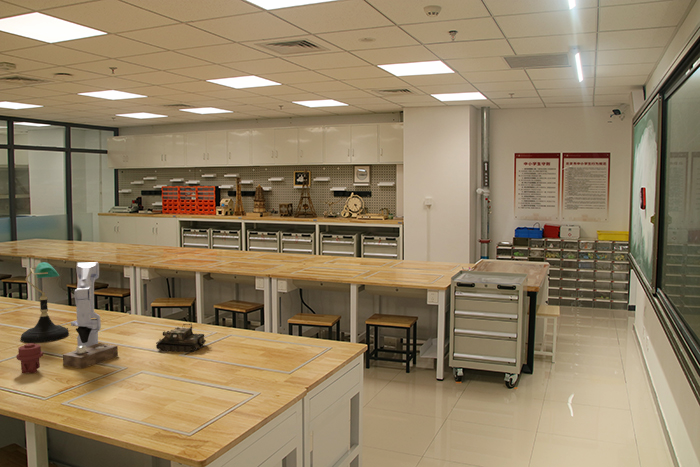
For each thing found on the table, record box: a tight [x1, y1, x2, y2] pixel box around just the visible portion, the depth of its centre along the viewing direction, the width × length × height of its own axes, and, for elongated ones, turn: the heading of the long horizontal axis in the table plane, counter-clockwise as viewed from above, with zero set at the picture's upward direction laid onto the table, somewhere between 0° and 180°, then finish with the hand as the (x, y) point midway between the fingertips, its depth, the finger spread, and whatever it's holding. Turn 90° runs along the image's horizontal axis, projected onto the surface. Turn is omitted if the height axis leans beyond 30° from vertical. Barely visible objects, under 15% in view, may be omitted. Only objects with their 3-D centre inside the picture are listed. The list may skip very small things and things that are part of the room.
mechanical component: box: [15, 343, 44, 375], centre depth 229 cm, size 12×10×10 cm
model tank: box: [155, 322, 207, 353], centre depth 265 cm, size 13×22×15 cm, turn 85°
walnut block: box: [62, 342, 119, 370], centre depth 245 cm, size 12×20×5 cm, turn 156°
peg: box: [75, 345, 86, 355], centre depth 240 cm, size 4×4×5 cm
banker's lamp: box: [20, 262, 70, 344], centre depth 283 cm, size 26×23×40 cm
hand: (84, 342), depth 242 cm, fingers closed
